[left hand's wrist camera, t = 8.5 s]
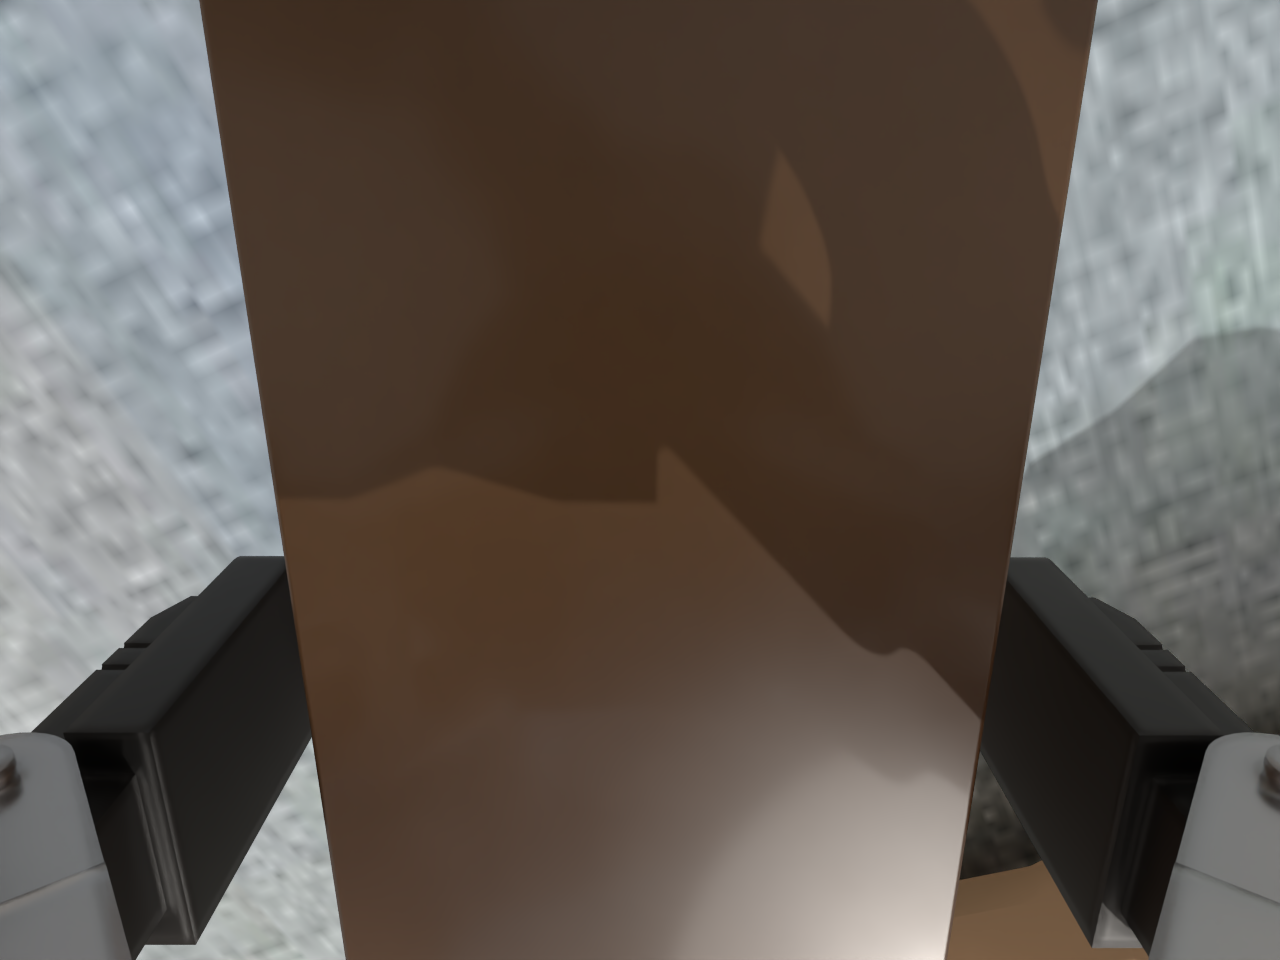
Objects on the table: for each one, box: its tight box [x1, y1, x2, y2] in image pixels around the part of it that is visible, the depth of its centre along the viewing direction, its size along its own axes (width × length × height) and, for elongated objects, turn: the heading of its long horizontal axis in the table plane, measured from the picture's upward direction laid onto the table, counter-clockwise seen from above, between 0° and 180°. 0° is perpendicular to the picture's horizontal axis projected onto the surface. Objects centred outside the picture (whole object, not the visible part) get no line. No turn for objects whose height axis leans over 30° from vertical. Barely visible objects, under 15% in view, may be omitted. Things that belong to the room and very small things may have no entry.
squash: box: [947, 860, 1149, 960], centre depth 25 cm, size 11×20×9 cm, turn 111°
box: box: [199, 0, 1098, 960], centre depth 11 cm, size 20×6×12 cm, turn 0°
